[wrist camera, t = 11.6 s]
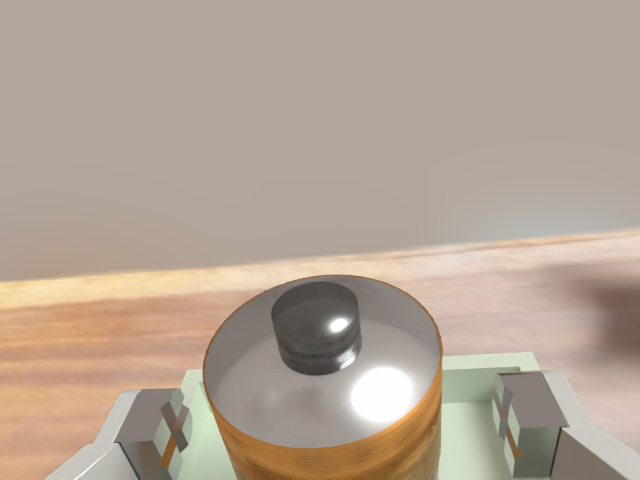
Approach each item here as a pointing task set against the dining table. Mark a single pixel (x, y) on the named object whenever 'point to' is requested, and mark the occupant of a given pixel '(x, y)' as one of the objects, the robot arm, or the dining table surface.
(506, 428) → the robot arm
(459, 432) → the tray
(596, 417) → the dining table surface
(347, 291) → the battery cell
